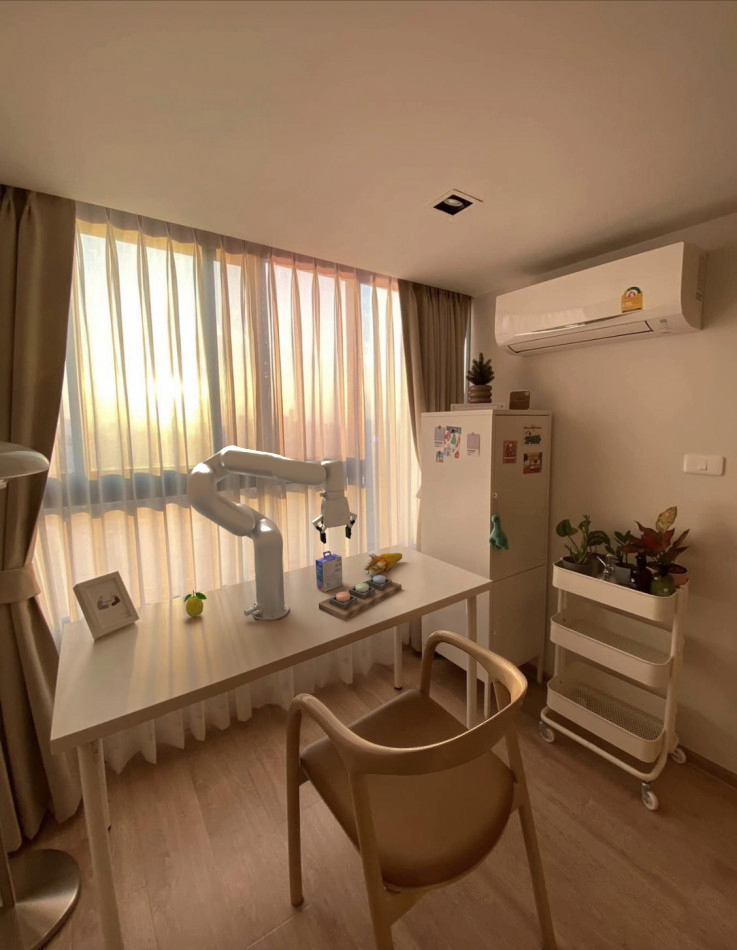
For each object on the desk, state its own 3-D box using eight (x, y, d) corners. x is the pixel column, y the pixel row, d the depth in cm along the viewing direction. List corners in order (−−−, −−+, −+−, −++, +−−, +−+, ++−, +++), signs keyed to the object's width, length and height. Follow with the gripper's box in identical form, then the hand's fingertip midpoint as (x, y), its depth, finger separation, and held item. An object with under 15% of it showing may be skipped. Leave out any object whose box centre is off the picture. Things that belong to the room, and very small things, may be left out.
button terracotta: (343, 604, 142) (343, 599, 142) (333, 600, 146) (333, 595, 145) (353, 599, 146) (353, 594, 146) (343, 595, 149) (343, 590, 149)
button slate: (380, 586, 157) (380, 581, 157) (370, 582, 160) (370, 578, 160) (388, 582, 161) (388, 577, 160) (378, 578, 164) (378, 574, 164)
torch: (401, 570, 190) (368, 581, 170) (389, 559, 194) (356, 568, 174) (409, 556, 187) (376, 566, 167) (397, 545, 191) (364, 553, 172)
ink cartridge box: (335, 581, 169) (334, 547, 167) (343, 585, 165) (342, 551, 163) (315, 588, 163) (314, 553, 160) (323, 592, 159) (322, 557, 156)
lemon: (208, 617, 140) (206, 590, 139) (190, 623, 136) (188, 595, 135) (200, 610, 145) (198, 584, 143) (183, 616, 141) (181, 589, 140)
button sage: (362, 595, 150) (362, 590, 149) (352, 591, 153) (352, 586, 153) (371, 590, 153) (371, 585, 153) (361, 586, 157) (361, 582, 156)
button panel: (344, 620, 137) (344, 610, 137) (318, 608, 146) (318, 598, 145) (401, 589, 161) (401, 580, 160) (376, 580, 170) (376, 571, 169)
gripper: (314, 499, 138) (317, 547, 141) (360, 493, 146) (361, 538, 149) (307, 495, 144) (310, 541, 147) (351, 489, 152) (353, 533, 155)
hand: (336, 540), depth 148 cm, fingers open, 9 cm apart
